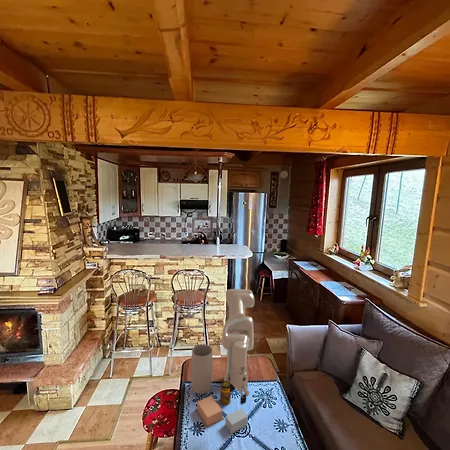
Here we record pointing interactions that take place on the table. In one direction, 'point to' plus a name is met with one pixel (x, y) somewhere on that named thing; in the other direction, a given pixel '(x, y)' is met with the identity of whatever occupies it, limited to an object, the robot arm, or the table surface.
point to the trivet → (204, 421)
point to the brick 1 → (209, 410)
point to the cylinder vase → (201, 368)
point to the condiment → (225, 393)
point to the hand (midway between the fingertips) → (237, 396)
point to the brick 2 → (236, 420)
